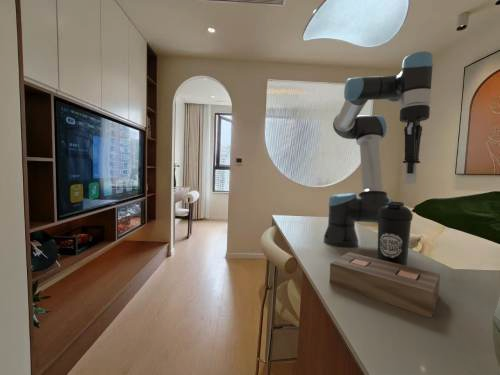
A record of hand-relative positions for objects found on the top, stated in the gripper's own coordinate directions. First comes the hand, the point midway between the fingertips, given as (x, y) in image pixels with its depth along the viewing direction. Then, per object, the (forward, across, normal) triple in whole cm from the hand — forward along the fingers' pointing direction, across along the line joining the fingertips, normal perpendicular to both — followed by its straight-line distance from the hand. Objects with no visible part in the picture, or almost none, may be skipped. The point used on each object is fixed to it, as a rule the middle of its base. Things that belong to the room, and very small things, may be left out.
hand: (410, 184), depth 74 cm
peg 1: (+29, +15, -9) cm, 34 cm away
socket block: (+29, +15, -3) cm, 33 cm away
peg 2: (+29, +15, +3) cm, 33 cm away
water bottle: (+30, -3, -5) cm, 30 cm away
